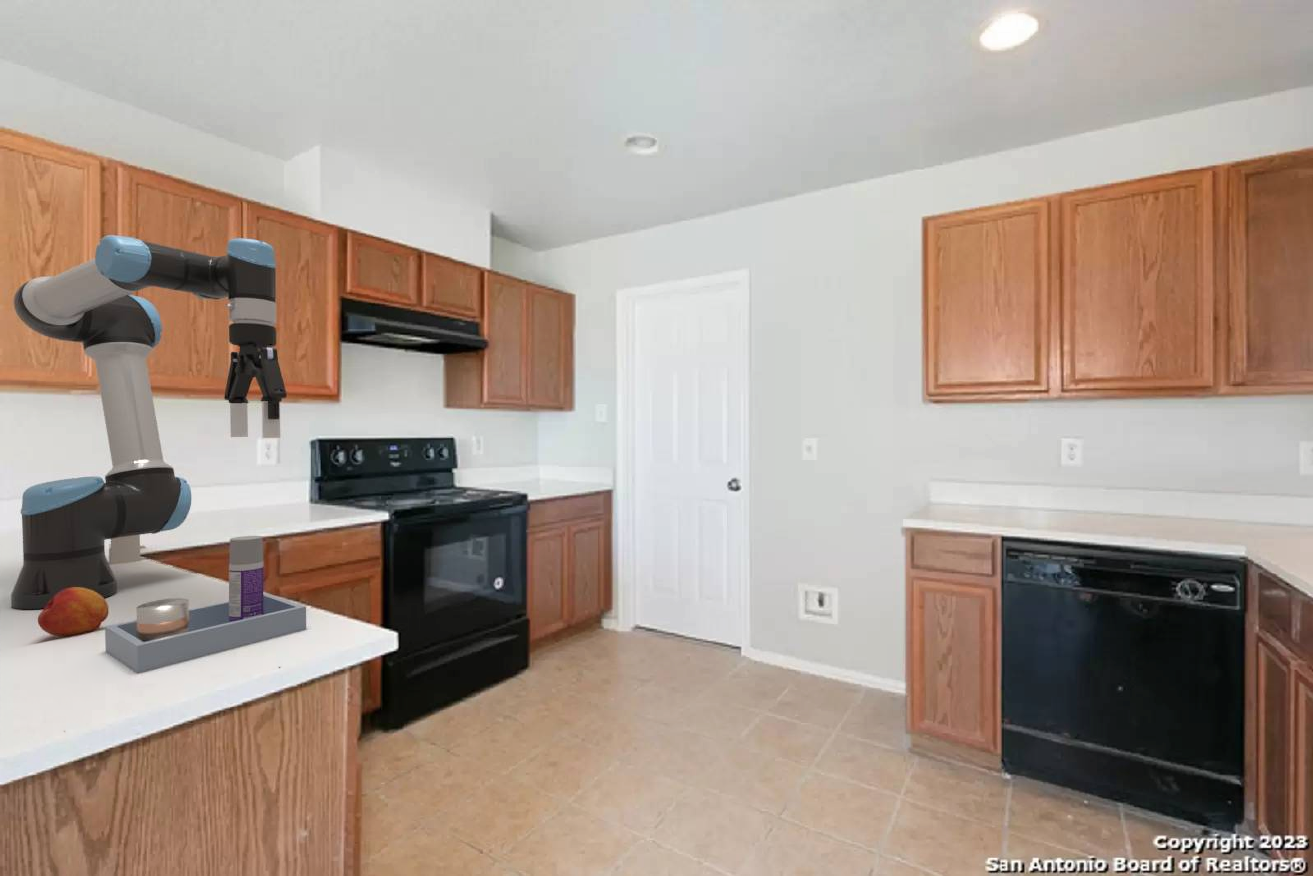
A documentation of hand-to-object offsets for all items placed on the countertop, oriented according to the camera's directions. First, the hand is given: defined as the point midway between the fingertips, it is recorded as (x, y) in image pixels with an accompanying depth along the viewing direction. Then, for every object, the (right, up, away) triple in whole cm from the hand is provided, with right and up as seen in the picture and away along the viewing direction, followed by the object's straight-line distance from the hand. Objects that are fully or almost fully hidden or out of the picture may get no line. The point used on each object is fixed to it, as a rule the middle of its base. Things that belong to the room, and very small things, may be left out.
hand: (254, 437), depth 119 cm
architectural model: (-56, -32, +37) cm, 74 cm away
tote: (+7, -32, -21) cm, 39 cm away
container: (+9, -32, -17) cm, 37 cm away
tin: (+3, -32, -26) cm, 41 cm away
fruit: (-19, -32, -17) cm, 41 cm away
